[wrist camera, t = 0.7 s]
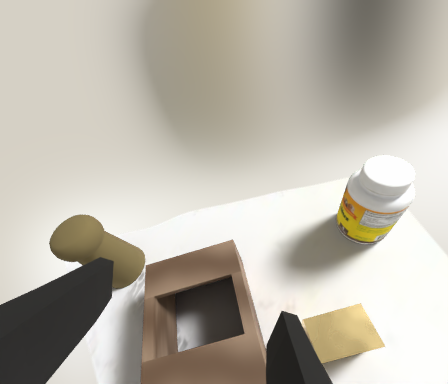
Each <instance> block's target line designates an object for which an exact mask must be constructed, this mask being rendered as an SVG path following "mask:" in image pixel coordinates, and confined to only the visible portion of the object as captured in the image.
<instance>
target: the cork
mask: <svg viewBox="0 0 448 384" xmlns="http://www.w3.org/2000/svg"><path fill="white" fill-rule="evenodd" d="M49 244H50V248H51V251H52V253H53V254H54V255H55V256H56V257H57V258H59V259H61V260H64V261H69V262H76V261H78V262H79V263H80V264H82V265H85V264H87V263H89V262H91V261H93V260H95V259H97V258H99V257H102V258H105V259H108V260H112V261H114V266H113V283H112V287H113V288H116V289H118V288H124V287H126V286H128V285H130V284H131V283H133V282H134V281H135V280H136V279H137V278H138V277H139V275H140V274H141V272H142V270H143V268H144V264H145V255H144V253H143V251H142V250H141V249H139V248H138V247H136V246H134V245H132V244H130V243H128V242H126V241H124V240H122V239H120V238H118V237H116V236H114V235H112V234H109V233H108V232H106V231H104V228H103V226H102V224H101V223H100V222H99V221H98V220H97V219H95V218H94V217H92V216H89V215H76V216H73V217H71V218H69V219H67V220H65V221H64V222H63V223H61V224H60V225H59V226H58V227H57V228H56V230H55V231H54V232H53V234H52V236H51V239H50V243H49Z"/></svg>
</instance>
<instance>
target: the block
mask: <svg viewBox="0 0 448 384" xmlns="http://www.w3.org/2000/svg"><path fill="white" fill-rule="evenodd" d="M302 326H303V328H304V330H305V332H306V334H307V336H308V338H309V340H310V342H311V344H312V346H313V348H314V350H315V352H316V354H317V356H318V358H319V360H320V361H321V363H326V362H329V361H333V360H337V359H340V358H344V357H348V356H352V355H355V354H359V353H363V352H367V351H370V350H374V349H378V348H381V347H385V345H384V343H383V342H382V340H381V338H380V336H379V335H378V333H377V331H376V329H375V328H374V326H373V324H372V322H371V321H370V319H369V317H368V315H367V314H366V312H365V310H364V309H363V307H362V305H361V303H360V304H357V305H353V306H350V307H346V308H343V309H339V310H335V311H332V312H328V313H325V314H321V315H317V316H314V317H310V318H307V319H303V321H302Z"/></svg>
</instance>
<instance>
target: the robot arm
mask: <svg viewBox="0 0 448 384" xmlns="http://www.w3.org/2000/svg"><path fill="white" fill-rule="evenodd" d="M113 266H114V261H112V260H108V259H105V258H102V257H99V258H97V259H95V260H93V261H91V262H89V263H87V264H85V265H83V266H81V267H79V268H77V269H75V270H73V271H71V272H69V273H67V274H66V275H64V276H61V277H59V278H57V279H55V280H53V281H51V282H49V283H47V284H45V285H43V286H41V287H39V288H37V289H35V290H33V291H30V292H28V293H26V294H24V295H21V296H19V297H17V298H15V299H12V300H10V301H8V302H6V303H4V304H1V305H0V384H46V382H47V381H48V380H49V379H50V377H51V376H52V375H53V374H54V373H55V371H56V370H57V369H58V368H59V366H60V365H61V364H62V363H63V362H64V360H65V359H66V358H67V357H68V355H69V354H70V353H71V352H72V351H73V349H74V348H75V347H76V346H77V344H78V343H79V342H80V341H81V340H82V338H83V337H84V336H85V335H86V333H87V332H88V331H89V330H90V328H91V327H92V326H93V325H94V323H95V322H96V321H97V319H98V318H99V316H100V315H101V313H102V312H103V310H104V309H105V307H106V305H107V304H108V302H109V301H110V299H111V298H112V283H113ZM266 384H333V383H332V382H331V380H330V378H329V376H328V374H327V373H326V371H325V369H324V367H323V365H322V363H321V361H320V360H319V358H318V356H317V354H316V352H315V350H314V348H313V346H312V344H311V342H310V340H309V338H308V336H307V334H306V332H305V330H304V328H303V326H302V324H301V322H300V320H299V318H298V317H297V315H294V314H291V313H287V312H284V311H282V312H281V314H280V316H279V318H278V321H277V323H276V325H275V327H274V330H273V332H272V334H271V336H270V339H269V341H268V343H267V350H266Z"/></svg>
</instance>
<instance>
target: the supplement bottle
mask: <svg viewBox="0 0 448 384" xmlns="http://www.w3.org/2000/svg"><path fill="white" fill-rule="evenodd" d="M414 179H415V170H414V168H413V167H412V166H411V165H410V164H409V163H408V162H406V161H405V160H403V159H400V158H397V157H393V156H384V155H383V156H376V157H373V158H370V159H369V160H367V161H366V162H365V164H364V165H363V168H361V169H359V170H357V171H356V172H354V173H353V174H352V175H351V177H350V178H349V181H348V183H347V186H346V189H345V192H344V195H343V198H342V201H341V204H340V207H339V210H338V214H337V217H336V223H337V226H338V229H339V230H340V232H341V233H342V234H343V235H344V236H345V237H346V238H348V239H349V240H351V241H354V242H356V243H360V244H374V243H377V242H379V241H381V240H382V239H383V238H384V237H385V236H386V235H387V234H388V233H389V231H390V230H391V229H392V227H393V226H394V225H395V224H396V222H397V221H398V220H399V218H400V217H401V216H402V214H403V213H404V212H405V211H406V209H407V208H408V207H409V205H410V204H411V203H412V201H413V199H414V196H415V188H414V185H413V184H412V182H413V181H414Z"/></svg>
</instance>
